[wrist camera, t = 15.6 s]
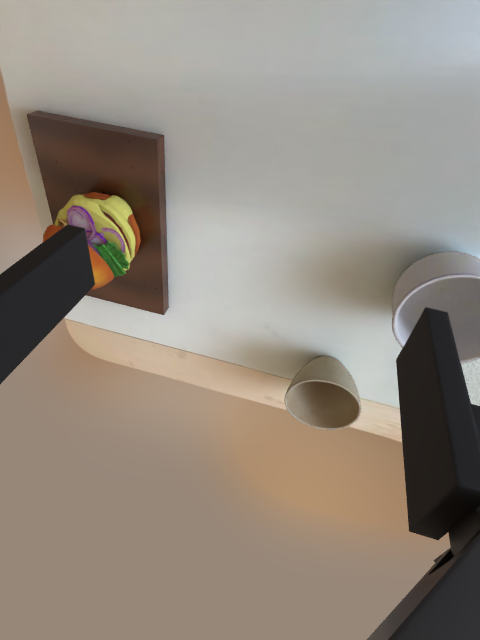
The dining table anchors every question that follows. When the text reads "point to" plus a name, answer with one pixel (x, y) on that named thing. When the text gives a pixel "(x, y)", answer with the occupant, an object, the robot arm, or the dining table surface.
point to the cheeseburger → (102, 232)
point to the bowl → (324, 395)
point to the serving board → (111, 193)
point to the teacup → (441, 298)
